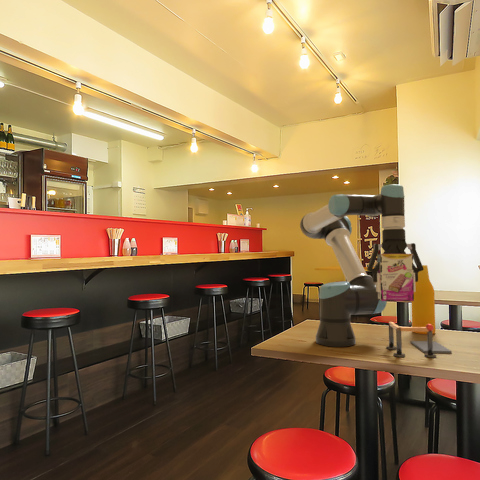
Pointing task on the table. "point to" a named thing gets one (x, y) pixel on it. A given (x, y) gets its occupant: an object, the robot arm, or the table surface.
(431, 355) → the bent wire
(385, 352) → the table surface
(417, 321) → the beer bottle
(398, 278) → the candy bar box
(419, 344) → the mat
